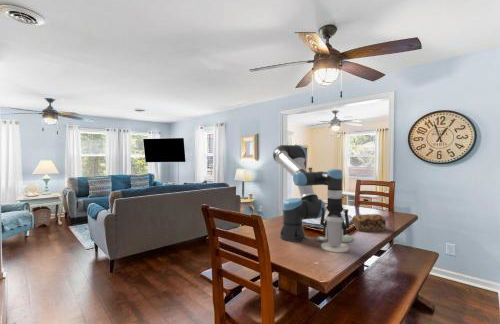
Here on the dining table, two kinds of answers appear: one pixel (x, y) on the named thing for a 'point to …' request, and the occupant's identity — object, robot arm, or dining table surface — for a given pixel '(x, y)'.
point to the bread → (369, 222)
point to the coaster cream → (335, 247)
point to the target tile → (321, 239)
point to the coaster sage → (347, 238)
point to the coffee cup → (334, 229)
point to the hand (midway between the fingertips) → (334, 239)
